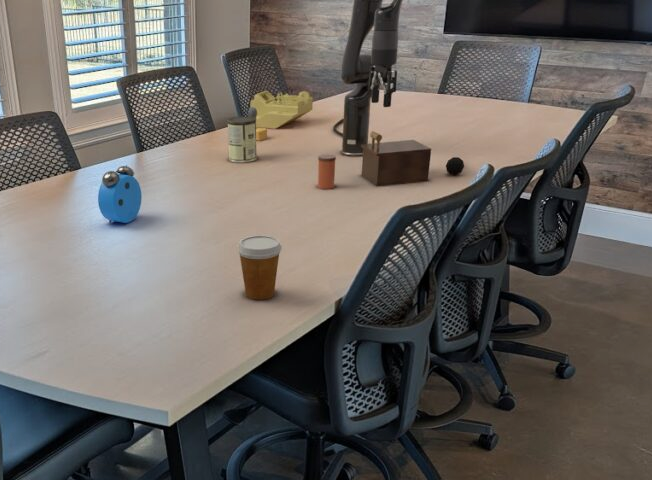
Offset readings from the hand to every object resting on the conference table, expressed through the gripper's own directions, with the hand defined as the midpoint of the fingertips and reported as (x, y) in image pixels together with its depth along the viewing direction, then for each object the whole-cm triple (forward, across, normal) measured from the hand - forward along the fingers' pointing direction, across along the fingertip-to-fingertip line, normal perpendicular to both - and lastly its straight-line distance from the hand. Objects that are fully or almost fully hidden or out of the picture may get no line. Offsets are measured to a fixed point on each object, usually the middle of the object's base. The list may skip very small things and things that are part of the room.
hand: (380, 104), depth 221 cm
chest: (+23, 0, -7) cm, 24 cm away
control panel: (+23, +98, +1) cm, 100 cm away
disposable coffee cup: (+24, -74, +62) cm, 99 cm away
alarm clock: (+24, -12, +84) cm, 88 cm away
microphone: (+23, +2, -31) cm, 39 cm away
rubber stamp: (+23, +75, +19) cm, 81 cm away
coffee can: (+23, +44, +32) cm, 59 cm away
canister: (+23, -1, +18) cm, 29 cm away
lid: (+14, 0, -6) cm, 15 cm away
